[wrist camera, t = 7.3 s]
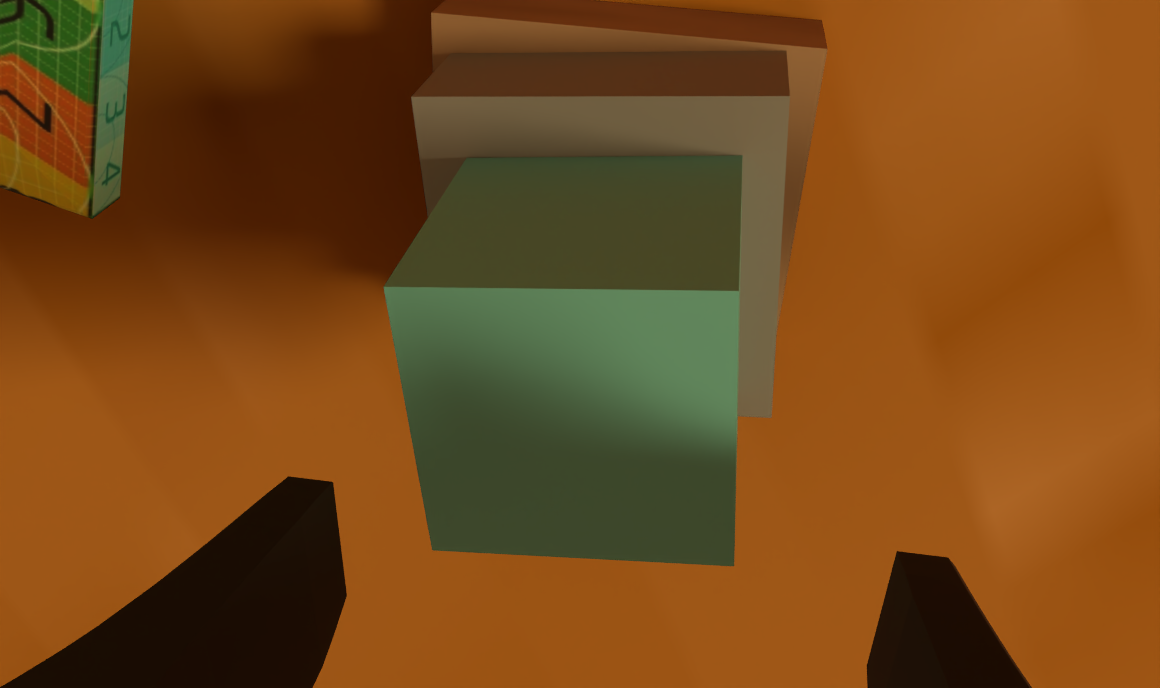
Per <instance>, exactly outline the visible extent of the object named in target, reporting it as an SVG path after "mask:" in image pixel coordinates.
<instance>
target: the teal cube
mask: <svg viewBox="0 0 1160 688" xmlns="http://www.w3.org/2000/svg"><path fill="white" fill-rule="evenodd" d="M742 159H743V155H733V156H619V157H505V158H466V160H465V161H464V163H463V164H462V166H461V167H460V169H459V170H458V172H457V174H456V175H455V177H454V178H453V180H452V181H451V183H450V184H449V186H448V188H447V189H446V191H445V192H444V194H443V195H442V197H441V198H440V200H439V201H438V203H437V205H436V206H435V208H434V209H433V211H432V212H431V214H430V215H429V217H428V219H427V220H426V222H425V223H424V225H423V226H422V228H421V229H420V231H419V233H418V234H417V236H416V237H415V239H414V240H413V242H412V243H411V245H410V247H409V248H408V250H407V251H406V253H405V254H404V256H403V257H402V259H401V260H400V262H399V264H398V265H397V267H396V268H395V270H394V271H393V273H392V274H391V276H390V278H389V279H388V281H387V282H386V284H385V285H384V292H385V298H386V303H387V308H388V314H389V319H390V325H391V330H392V335H393V341H394V346H395V352H396V357H397V362H398V368H399V373H400V379H401V384H402V389H403V395H404V400H405V406H406V411H407V416H408V422H409V427H410V432H411V438H412V443H413V449H414V454H415V459H416V465H417V470H418V476H419V481H420V486H421V492H422V497H423V503H424V508H425V513H426V519H427V524H428V530H429V535H430V540H431V546H432V550H438V551H456V552H475V553H494V554H513V555H532V556H551V557H569V558H588V559H607V560H626V561H645V562H664V563H682V564H701V565H720V566H734V546H735V504H736V462H737V420H738V375H739V321H740V267H741V213H742Z"/></svg>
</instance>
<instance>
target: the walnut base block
mask: <svg viewBox="0 0 1160 688" xmlns="http://www.w3.org/2000/svg"><path fill="white" fill-rule="evenodd" d="M431 29H432V67H433V72H434V71H435V70H436V69H437V68H438V67H439V66H440V65H441V63H442V62H443V61H444V60H445V59H446V58H447V57H448V56H449V55H450V54H451V53H551V52H672V51H787V63H788V77H789V90H790V104H789V121H788V138H787V156H786V173H785V190H784V208H783V225H782V242H781V260H780V277H779V294H778V312H777V328H778V323H779V317H780V312H781V306H782V300H783V295H784V289H785V284H786V278H787V272H788V267H789V261H790V256H791V250H792V244H793V239H794V233H795V228H796V222H797V216H798V211H799V205H800V200H801V194H802V189H803V183H804V177H805V172H806V166H807V161H808V155H809V149H810V144H811V138H812V133H813V127H814V121H815V116H816V110H817V105H818V99H819V93H820V88H821V82H822V77H823V71H824V65H825V60H826V54H827V44H826V39H825V34H824V29H823V24H822V20H811V19H800V18H789V17H777V16H766V15H755V14H743V13H732V12H721V11H709V10H698V9H687V8H675V7H664V6H653V5H641V4H630V3H619V2H607V1H596V0H444V1H443V2H442V3H441V4H440V5H439V6H438V7H437V8H436V9H434V10H433V11H432V12H431ZM776 334H777V329H776Z"/></svg>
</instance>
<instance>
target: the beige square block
mask: <svg viewBox="0 0 1160 688" xmlns="http://www.w3.org/2000/svg"><path fill="white" fill-rule="evenodd" d="M411 100H412V107H413V114H414V122H415V129H416V136H417V143H418V150H419V158H420V165H421V172H422V179H423V187H424V194H425V201H426V208H427V216H428V217H429V215H430V214H431V212H432V211H433V209H434V208H435V206H436V205H437V203H438V201H439V200H440V198H441V197H442V195H443V194H444V192H445V191H446V189H447V188H448V186H449V184H450V183H451V181H452V180H453V178H454V177H455V175H456V174H457V172H458V170H459V169H460V167H461V166H462V164H463V163H464V161H465V160H466V158H505V157H619V156H733V155H743V159H742V213H741V267H740V321H739V375H738V416H745V417H767V418H771V416H772V398H773V381H774V364H775V346H776V329H777V312H778V294H779V277H780V260H781V242H782V225H783V208H784V190H785V173H786V156H787V138H788V121H789V104H790V90H789V77H788V63H787V51H672V52H551V53H451V54H450V55H449V56H448V57H447V58H446V59H445V60H444V61H443V62H442V63H441V65H440V66H439V67H438V68H437V69H436V70H435V71H434V72H433V73H432V74H431V75H430V77H429V78H428V79H427V80H426V81H425V82H424V83H423V84H422V85H421V86H420V88H419V89H418V90H417V91H416V92H415V93H414V94H413V95H412V96H411Z"/></svg>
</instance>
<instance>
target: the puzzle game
mask: <svg viewBox="0 0 1160 688" xmlns="http://www.w3.org/2000/svg"><path fill="white" fill-rule="evenodd" d="M133 1H134V0H0V188H3V189H6V190H9V191H12V192H15V193H18V194H21V195H24V196H27V197H30V198H33V199H36V200H38V201H41V202H44V203H47V204H50V205H53V206H56V207H59V208H62V209H65V210H68V211H71V212H74V213H77V214H80V215H82V216H85V217H88V218H91V219H93V218H94V217H95V216H97V215H98V214H99V213H101V212H102V211H103V210H105V209H106V208H107V207H108V206H110V205H111V204H112V203H114V202H115V201H116V200H118V199H119V198H120V189H121V175H122V160H123V146H124V131H125V117H126V102H127V88H128V73H129V59H130V44H131V30H132V15H133Z"/></svg>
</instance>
